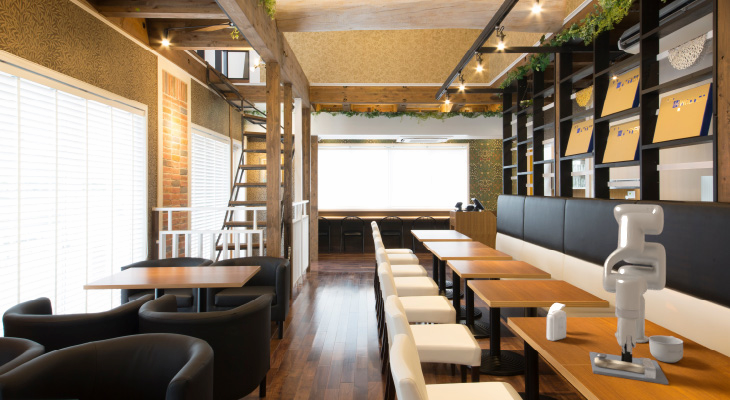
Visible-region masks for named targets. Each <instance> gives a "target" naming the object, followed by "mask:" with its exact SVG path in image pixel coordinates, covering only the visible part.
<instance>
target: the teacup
mask: <svg viewBox="0 0 730 400" xmlns="http://www.w3.org/2000/svg"><path fill="white" fill-rule="evenodd" d="M648 338H649V341H648V342H649V352H650V354H651V356H652V357H654V358H655V359H656V361H661V362H664V363H677V362H679V361H680V360H682V359H683V356H684V340H683V339H680V338H677V337H675V336H673V335H670V336H669V335H651V336H648Z"/></svg>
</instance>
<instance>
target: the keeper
mask: <svg viewBox="0 0 730 400" xmlns="http://www.w3.org/2000/svg"><path fill="white" fill-rule="evenodd" d="M639 358H640V361H641V363H642V365H643V367H644V377H645V378H650V379H656V368H655V366H654V365H653V363H652V361H651V360H652V359H651V358H647V357H639Z"/></svg>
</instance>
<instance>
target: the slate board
mask: <svg viewBox="0 0 730 400" xmlns="http://www.w3.org/2000/svg"><path fill="white" fill-rule="evenodd" d="M597 353H598V352H595V351H589V358H590V362H591V369H592V373H593V374H596V375H602V376H607V377H609V376H610V377H614V378H615V377H616V378H623V379H629V380H635V381H641V382H648V383H655V384H661V385H667V386H668V385H669V380H668V379H667V377H666V375H665V373H664V372H663V370H662V368H661V367H660V364H659V363H658V360H655V359H654V360H653V359H650V360H651V361H652V363H653V365H654V366H655V368H656V379H650V378H645V377H644V374H643V373H637V372H631V371H625V370H619V369H613V368H607V367H606V368H603V367H598V366H596V365H595V358H596V357H598V356H597ZM605 354H606V355H607V357H606V358H605V359H610V360H617V361H621V355H617V354H611V353H610V354H609V353H605ZM632 363H636V364H642V363H641V361H640V357H633V356H632Z"/></svg>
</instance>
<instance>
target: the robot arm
mask: <svg viewBox="0 0 730 400" xmlns="http://www.w3.org/2000/svg"><path fill="white" fill-rule="evenodd" d="M613 216H614V218H615V220H616V223H617V224H618V237H617V239H618V240H617V248H616V249H615V250H614V251H613V252H611V253H609V256H608V257H607V258H606V259H605V261H604V264H603V270H602V288H603V290H604V291H606V292H608V293H611V294H615V303H614V304H615V311H614V313H615V315H614V316H615V317H616V318H617V329H616V332H615V333H614V336H615V338H616V340H617V343H618V345H619V346H620V347H621V353H620V354H621V355H620V356H621V361H623V362H630V363H632V357H633V349H635V348H636V347H637V345H636V344H637V343H639V344H641V343H642V344H644V343H647V342H649V336H647V335H645V332H646V331H645V325H646V323H645V321H646V318H645V317H646V313H645V312H646V299H645V296H644V294H645V293H647V291H648V290H649V291H650V290H651V291H662V290H664V288H665V286H666V283H667V282H666V278H667V277H666V275H667V256H666V249H665V248H666V247H664V245H663V244H662V243H659V242H648V241H645V238H646V237H645V235H650V236H651V235H653V236H654V235H655V236H658V235H661V233H662V232H663V229H664V223H665V220H664V219H665V217H664V209H663V207H662V206H661V205H658V204H645V203H644V204H637V203H623V204H617V205H616V206H615V207H613ZM620 261H623V262H625V263H629V264H636V265H622V266H620V267H619V268H618V270H617V272H612V269H613V267H614V265H616V264H617V263H619V262H620ZM640 265H646V266H640ZM650 266H652V267H650Z"/></svg>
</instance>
